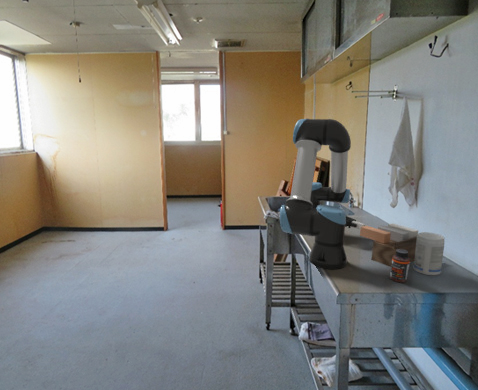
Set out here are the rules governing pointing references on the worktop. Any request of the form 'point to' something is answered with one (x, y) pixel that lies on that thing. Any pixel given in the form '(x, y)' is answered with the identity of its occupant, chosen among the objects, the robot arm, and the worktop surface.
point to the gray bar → (395, 233)
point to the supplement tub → (429, 253)
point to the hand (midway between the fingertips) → (363, 227)
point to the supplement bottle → (400, 266)
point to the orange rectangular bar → (375, 234)
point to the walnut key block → (392, 250)
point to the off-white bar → (411, 231)
